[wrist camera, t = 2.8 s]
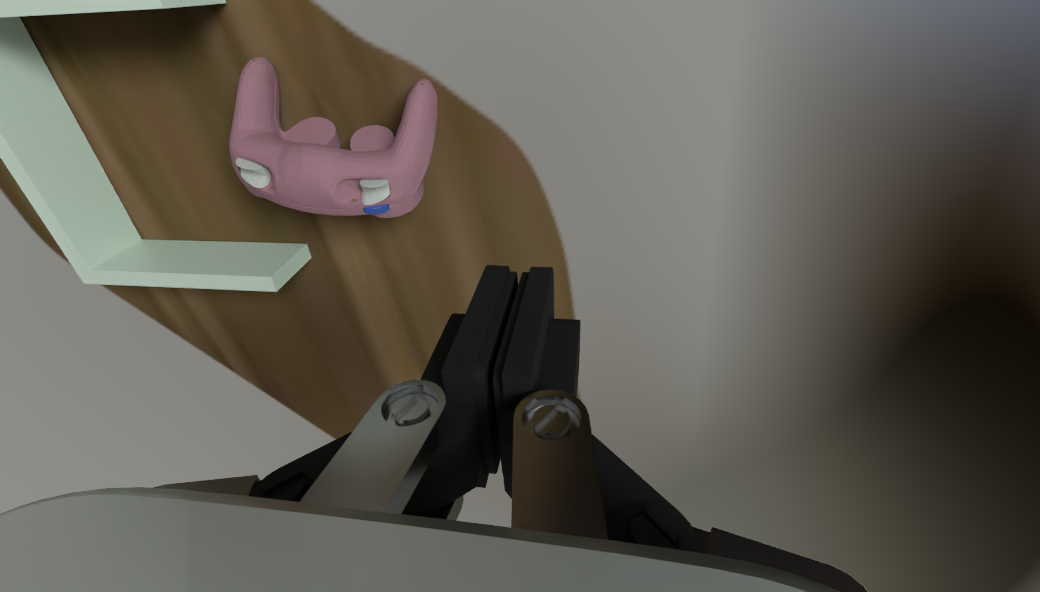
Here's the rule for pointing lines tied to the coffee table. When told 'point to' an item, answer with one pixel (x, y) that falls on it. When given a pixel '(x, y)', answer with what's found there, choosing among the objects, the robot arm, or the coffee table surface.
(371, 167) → the video game controller
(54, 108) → the box
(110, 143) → the coffee table surface
